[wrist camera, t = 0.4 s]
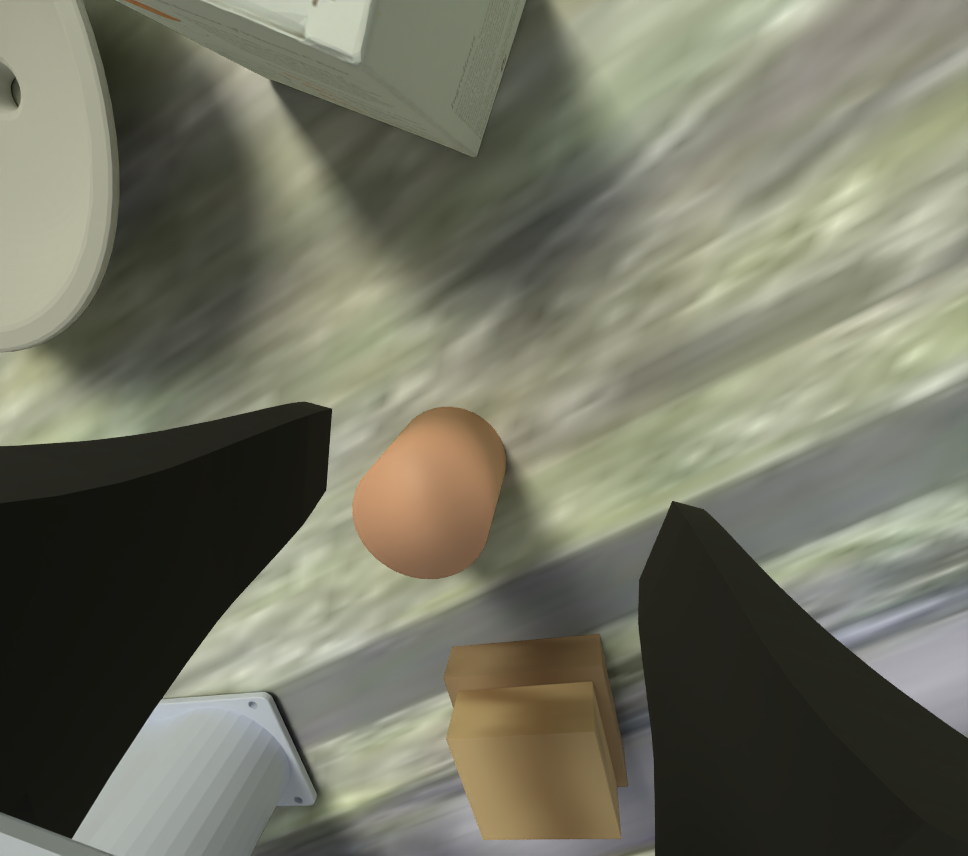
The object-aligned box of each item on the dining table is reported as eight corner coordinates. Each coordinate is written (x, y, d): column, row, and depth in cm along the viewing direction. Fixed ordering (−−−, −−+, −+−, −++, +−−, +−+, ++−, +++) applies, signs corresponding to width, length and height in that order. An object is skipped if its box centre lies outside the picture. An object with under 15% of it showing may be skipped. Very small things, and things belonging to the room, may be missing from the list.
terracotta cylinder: (414, 515, 23) (376, 586, 18) (384, 418, 22) (334, 467, 17) (517, 500, 22) (503, 570, 17) (491, 397, 21) (469, 443, 16)
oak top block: (490, 786, 25) (483, 839, 23) (457, 691, 24) (446, 739, 21) (616, 782, 24) (621, 838, 22) (592, 681, 22) (594, 731, 20)
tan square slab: (488, 745, 28) (481, 790, 25) (454, 639, 26) (443, 678, 23) (622, 739, 26) (627, 786, 24) (598, 626, 24) (601, 665, 22)
